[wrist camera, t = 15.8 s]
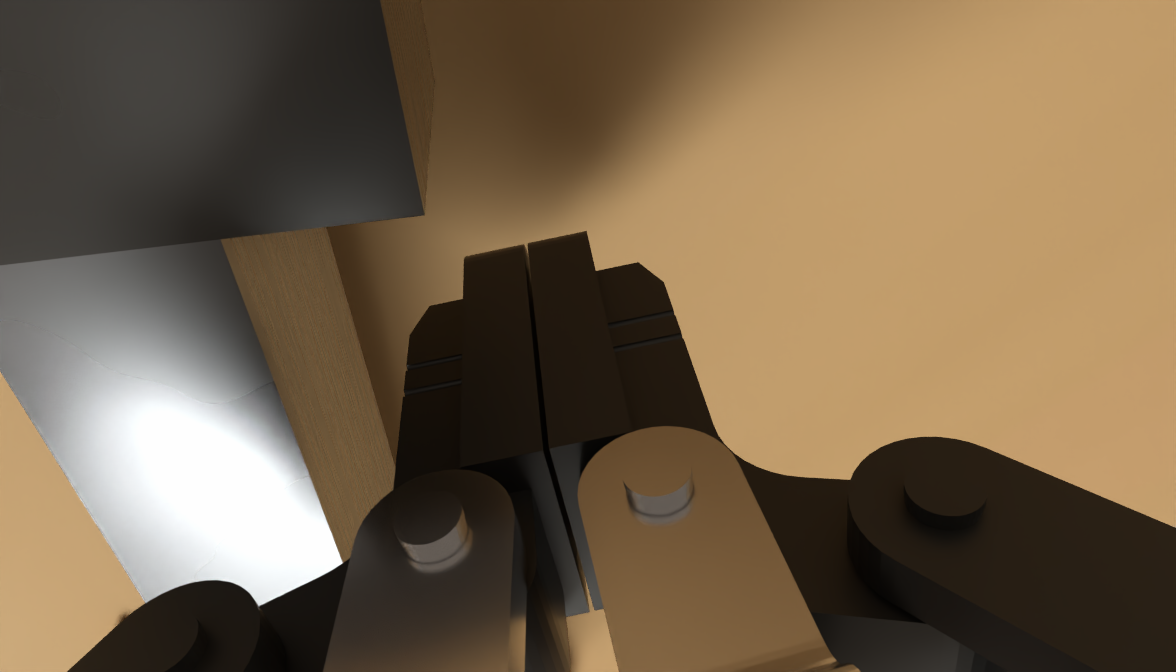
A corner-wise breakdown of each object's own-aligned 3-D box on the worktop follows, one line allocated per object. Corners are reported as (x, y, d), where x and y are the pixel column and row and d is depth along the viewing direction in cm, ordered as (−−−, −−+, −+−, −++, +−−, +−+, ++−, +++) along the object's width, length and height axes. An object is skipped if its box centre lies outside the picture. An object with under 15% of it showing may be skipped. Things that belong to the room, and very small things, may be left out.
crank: (560, 767, 19) (583, 991, 16) (340, 802, 19) (313, 1039, 15) (400, -149, 8) (360, -70, 5) (-129, -101, 8) (-576, 20, 4)
